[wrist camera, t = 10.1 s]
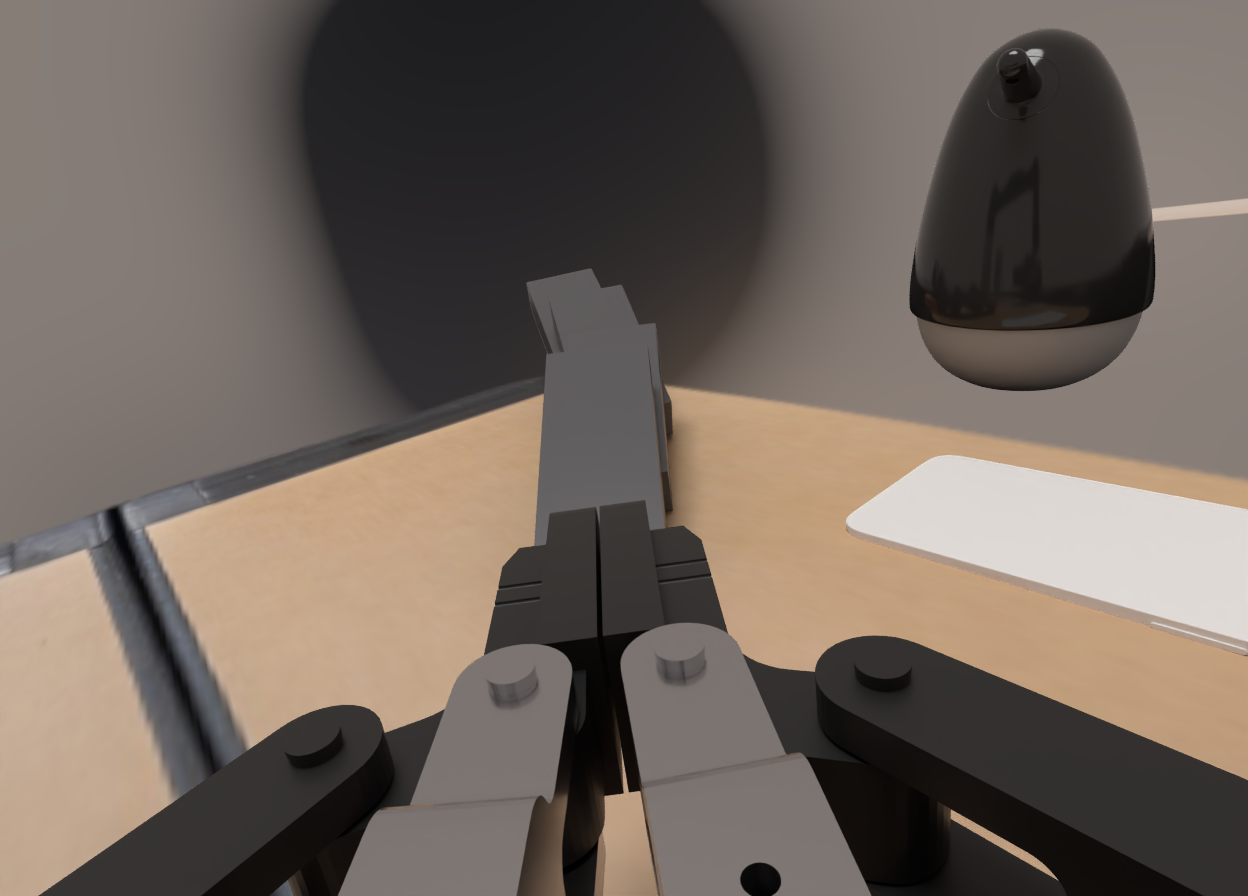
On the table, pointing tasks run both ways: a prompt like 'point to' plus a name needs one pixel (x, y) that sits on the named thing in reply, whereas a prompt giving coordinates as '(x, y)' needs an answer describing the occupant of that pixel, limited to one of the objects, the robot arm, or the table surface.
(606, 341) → the domino
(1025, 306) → the black egg shape
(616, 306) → the domino
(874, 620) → the table surface
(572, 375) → the domino
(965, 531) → the smartphone
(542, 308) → the domino
